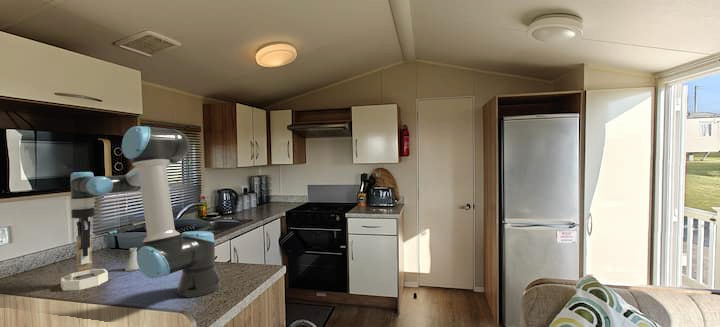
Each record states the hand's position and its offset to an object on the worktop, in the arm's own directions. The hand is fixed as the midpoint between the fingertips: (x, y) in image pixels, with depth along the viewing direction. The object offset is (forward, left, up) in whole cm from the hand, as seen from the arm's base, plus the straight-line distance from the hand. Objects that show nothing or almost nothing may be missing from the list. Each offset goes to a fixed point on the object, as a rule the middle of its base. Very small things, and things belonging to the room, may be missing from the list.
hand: (84, 262), depth 137 cm
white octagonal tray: (0, 0, -9) cm, 9 cm away
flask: (+6, -19, -9) cm, 22 cm away
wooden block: (0, 0, -3) cm, 3 cm away
